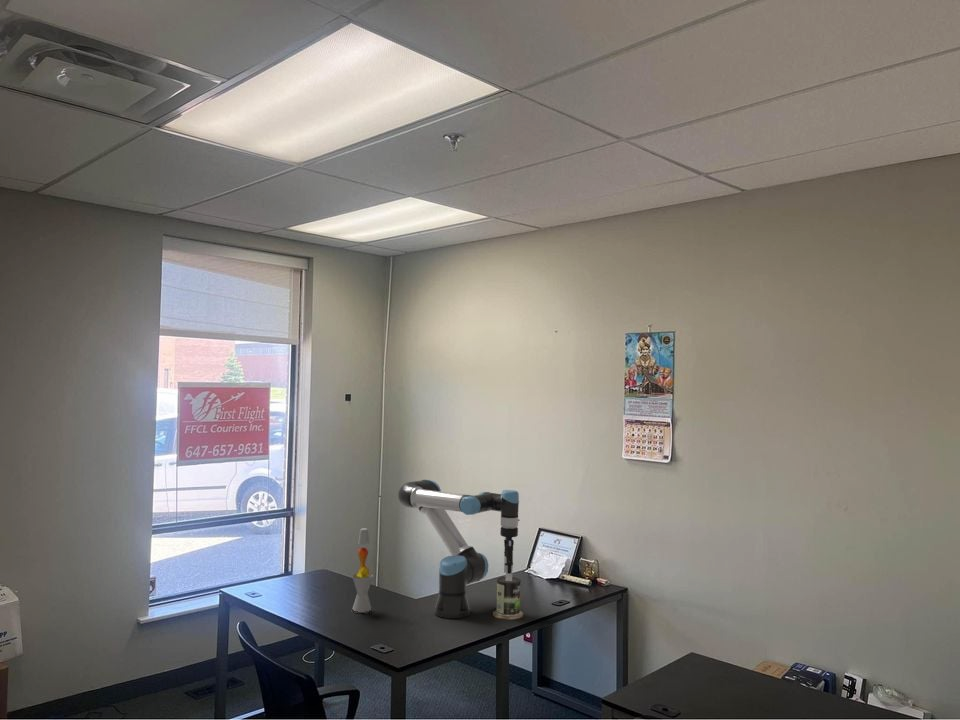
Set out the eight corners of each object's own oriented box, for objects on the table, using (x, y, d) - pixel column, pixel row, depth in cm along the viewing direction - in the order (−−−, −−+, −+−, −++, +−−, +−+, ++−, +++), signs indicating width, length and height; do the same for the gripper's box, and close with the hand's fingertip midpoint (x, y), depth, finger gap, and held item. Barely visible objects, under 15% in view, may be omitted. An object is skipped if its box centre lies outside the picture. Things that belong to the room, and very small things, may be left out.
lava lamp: (347, 610, 301) (349, 528, 303) (364, 606, 308) (366, 526, 309) (359, 615, 295) (361, 531, 297) (376, 611, 301) (378, 529, 303)
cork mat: (493, 619, 293) (493, 617, 293) (492, 610, 306) (492, 608, 306) (524, 619, 293) (524, 618, 293) (521, 610, 306) (521, 608, 306)
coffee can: (523, 611, 302) (524, 578, 302) (513, 618, 293) (514, 584, 293) (502, 607, 306) (503, 575, 307) (491, 614, 297) (492, 580, 298)
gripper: (520, 532, 289) (518, 584, 288) (516, 521, 314) (514, 569, 313) (502, 532, 289) (500, 584, 288) (499, 521, 314) (497, 568, 313)
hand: (507, 576), depth 300 cm, fingers open, 13 cm apart
